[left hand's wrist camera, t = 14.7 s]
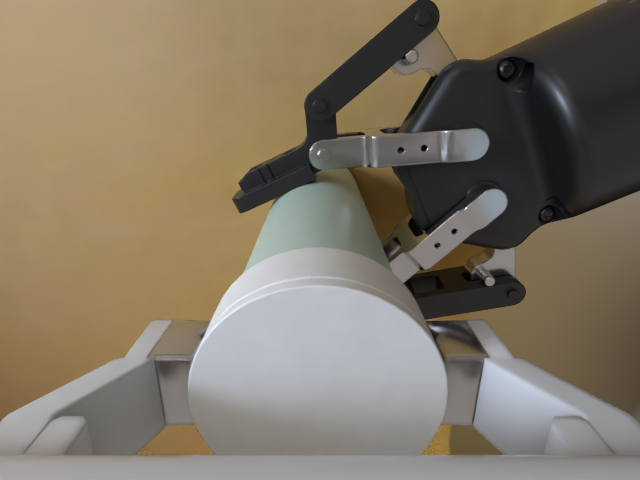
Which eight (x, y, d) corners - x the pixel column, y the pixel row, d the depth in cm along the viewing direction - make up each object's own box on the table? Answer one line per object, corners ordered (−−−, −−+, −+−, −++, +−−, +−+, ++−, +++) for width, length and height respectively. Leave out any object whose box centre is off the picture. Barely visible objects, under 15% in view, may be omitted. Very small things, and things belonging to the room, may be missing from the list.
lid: (368, 206, 9) (381, 237, 7) (456, 380, 10) (486, 443, 9) (169, 306, 10) (132, 357, 8) (279, 452, 11) (271, 524, 9)
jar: (374, 197, 24) (474, 386, 9) (317, 247, 26) (315, 495, 10) (320, 139, 23) (321, 237, 7) (263, 195, 24) (161, 381, 9)
